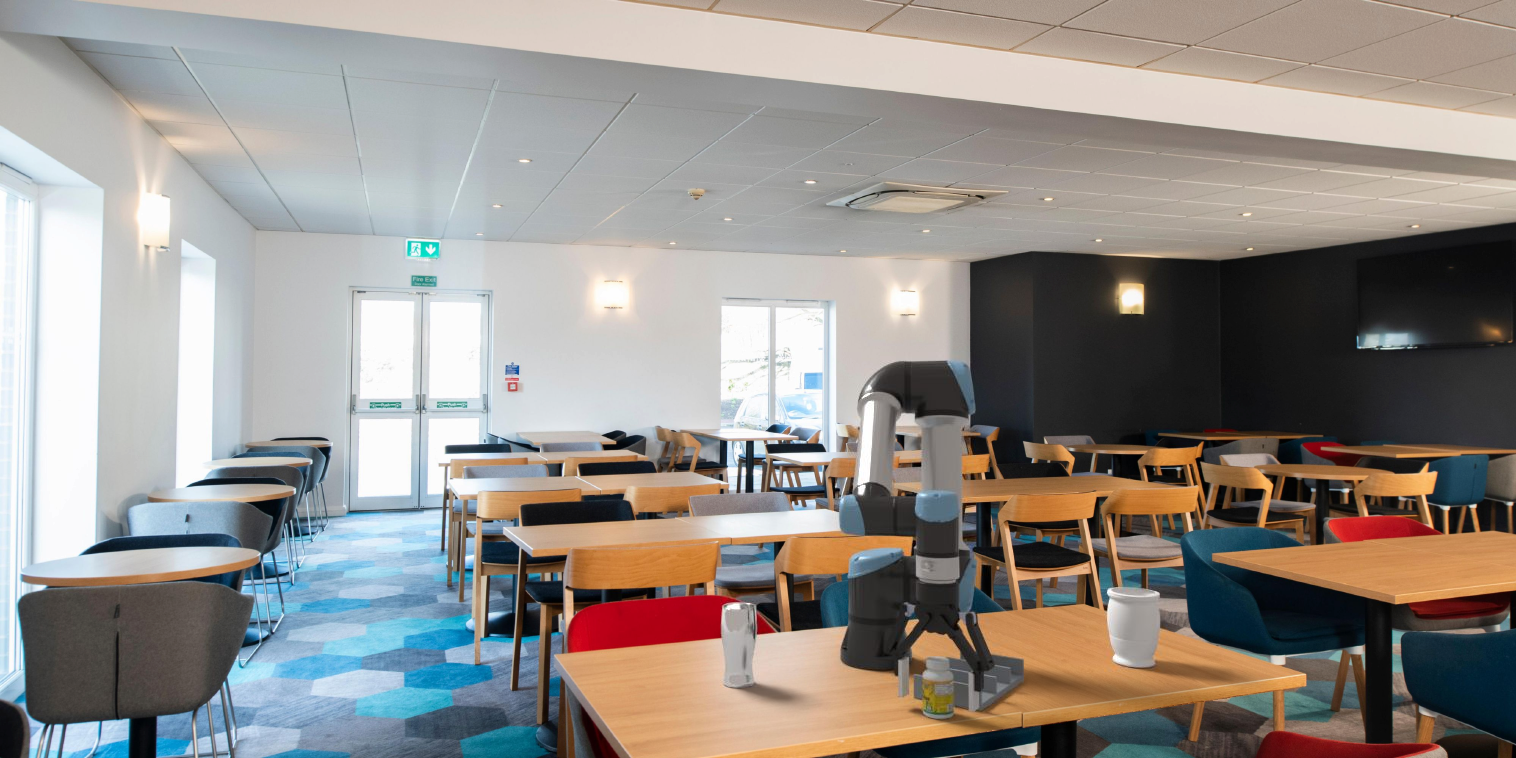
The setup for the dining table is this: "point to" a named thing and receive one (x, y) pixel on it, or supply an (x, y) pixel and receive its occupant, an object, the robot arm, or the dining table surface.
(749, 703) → the dining table surface
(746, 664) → the beer glass
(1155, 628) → the jar
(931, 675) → the supplement bottle
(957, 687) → the rack
